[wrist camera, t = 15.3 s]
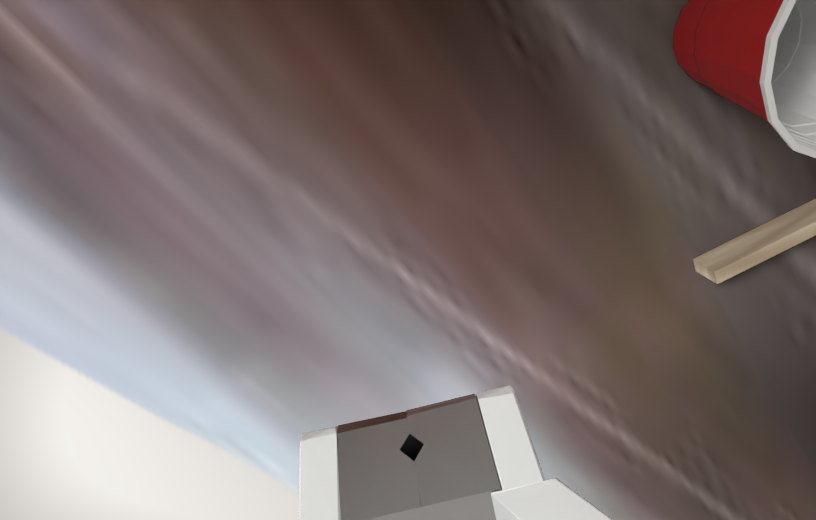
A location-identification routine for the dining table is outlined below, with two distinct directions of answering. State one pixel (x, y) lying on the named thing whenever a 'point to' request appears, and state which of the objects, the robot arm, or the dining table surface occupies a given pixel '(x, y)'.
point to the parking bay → (758, 244)
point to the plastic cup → (756, 59)
